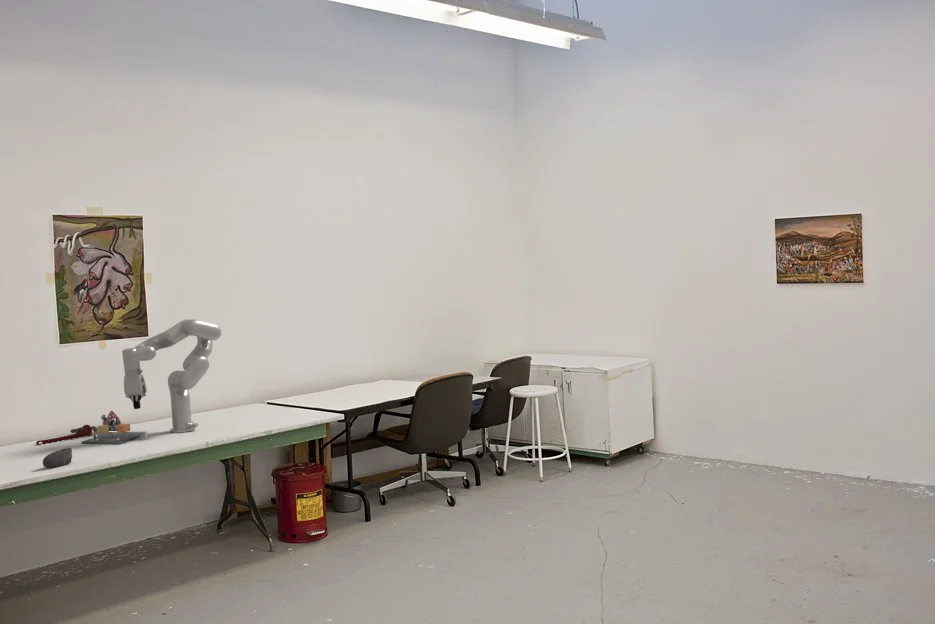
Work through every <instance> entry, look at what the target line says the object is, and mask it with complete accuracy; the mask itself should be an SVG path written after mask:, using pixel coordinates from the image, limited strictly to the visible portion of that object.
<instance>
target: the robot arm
mask: <svg viewBox="0 0 935 624" xmlns="http://www.w3.org/2000/svg"><path fill="white" fill-rule="evenodd" d="M189 336H191V337H193V336H194V337H196V338H197V343H196V345H195V347H194V348H193V349H192V350H191V351H190V353H189V354H188V355H187V356H186V357H185V358H184V360H183V362H182V369H183V370H174V371H172V372H171V373H170V374H169V375H168V377H167V387H168V389H169V394H170V408H171V419H172V420H171V422H172V423H171V424H172V428H170V429H169V432H170V433H175V434H176V433H177V434H178V433H180V434H181V433H188V432H192V431H195V429H196V428H198V426H199V423H194V421H193V420H192V415H191V414H192V410H191V396H190V395H191V394H190V391H189V390H192V389H194V387H196V385H197V384H198V383H199V382H200V381H201V379H202V378H203V377H204V375H206V373H207V371H209V368H210V367H209V366H210V361H209V359H208V358H209V356H210V355H211V354H212V350H213V341H217V340H218V339H219V338H221V336H222V329H221V327H220V326H219V325H217V324H215V323H214V324H213V323H210V322H206V321H202V320H198V319H190V318H189V319H184V320H181V321H180V322H178V323H176V324H175V325H173V326H171V327H169V328H167V330H165V331H163V332H161V333H158V334H156V335H154V336H152V337H150V338H147V339H145V340H143V341H142V342H140V343H139V344H137V345H136V346H135V347H130V348H124V349H123V350H122V353H121V354H122V361H123V369H124V370H123V371H124V377H123V389H124V395H125V398H127V399H129V400H131V402H132V405H133V410H139V409H141V406H142V405H141V400H142V398H145V397H146V396H147V395H146V394H147V392H148V391H147V386H146V380H145V378H144V377H145V376H144V375H143V374H142V373H143V370H142V369H141V365H140V364H141V362H145V361H146V362H147V361H148V362H149V361H151V360H153V359H154V358H156V355H157V351H159V350H161V349H167V348H171V347H174V346H175V345H176V344H178V343H179V342H181V341H183V340H184V339H186V338H188V337H189Z"/></svg>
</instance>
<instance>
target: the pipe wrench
mask: <svg viewBox="0 0 935 624" xmlns="http://www.w3.org/2000/svg"><path fill="white" fill-rule="evenodd" d="M94 432H97V426H94V425H92V426H91V425H90V424H84V425H83V426H81V427H79V428H72V429H71V430H70V433H71V434H67V435H63V436H58V437H54V438H47V439H41V440H37V441H36V443H35V445H36V446H42V445H41V444H43V445H47V444H46V443H49V444H52V442H54V443H58V442H57V441H60V442H63V441H62V440H65V441H69V440H68V439H71V440H74V439H73V438H77V439H80V438H79V437H82V438H85V437H84V436H88V437H91V436H90V435H93V433H94Z"/></svg>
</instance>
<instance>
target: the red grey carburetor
mask: <svg viewBox="0 0 935 624" xmlns="http://www.w3.org/2000/svg"><path fill="white" fill-rule="evenodd" d="M100 420H102V425H108V427H109V431H117V425H120V424H122V420H121V419H120V418H119V417H118V415H117V414H116V413H115V412H114V411H113V410H110V411H109V413H108V415H107V416H106V414H101V417H100Z"/></svg>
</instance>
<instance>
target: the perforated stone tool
mask: <svg viewBox="0 0 935 624" xmlns="http://www.w3.org/2000/svg"><path fill="white" fill-rule="evenodd" d="M72 450H73V449H72V448H71V447H65V448H61V449H58V450H55V451H53V452H51V453H49V454H47V455H45V457H44V458H43V459H42V466H43V467H44V468H45V469H53V468H57V467H59V468H60V467H61V466H62V467H63V466H65V465H68V464H71V463H72V459H73V453H72Z"/></svg>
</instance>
